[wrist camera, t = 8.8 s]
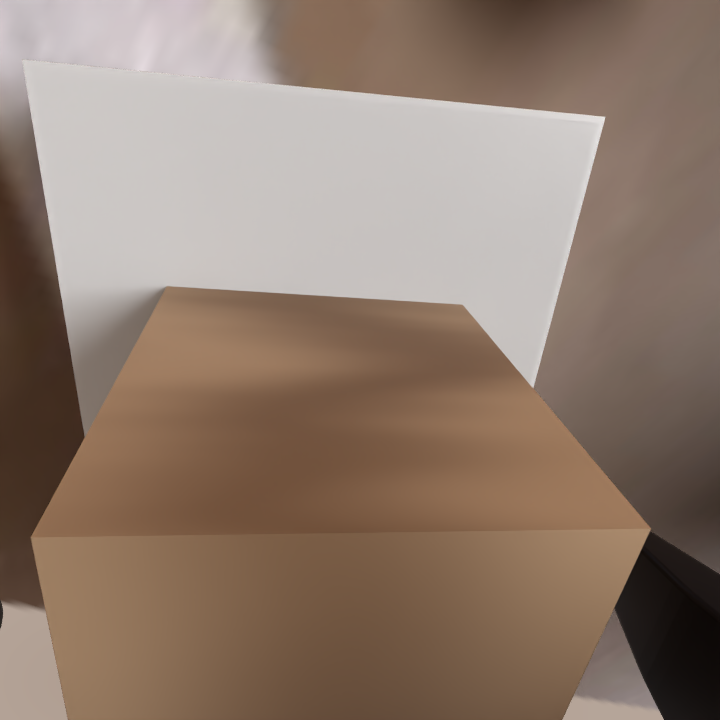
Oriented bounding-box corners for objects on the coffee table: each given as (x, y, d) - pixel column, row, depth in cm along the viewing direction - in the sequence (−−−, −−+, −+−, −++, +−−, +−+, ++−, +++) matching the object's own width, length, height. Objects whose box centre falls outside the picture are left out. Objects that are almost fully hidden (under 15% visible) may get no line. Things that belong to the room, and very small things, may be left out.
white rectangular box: (515, 107, 13) (605, 117, 9) (436, 505, 18) (474, 607, 15) (101, 66, 11) (21, 59, 8) (150, 512, 17) (116, 627, 13)
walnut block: (462, 304, 10) (650, 528, 5) (417, 519, 13) (514, 822, 8) (166, 286, 10) (30, 538, 4) (177, 521, 12) (98, 870, 7)
